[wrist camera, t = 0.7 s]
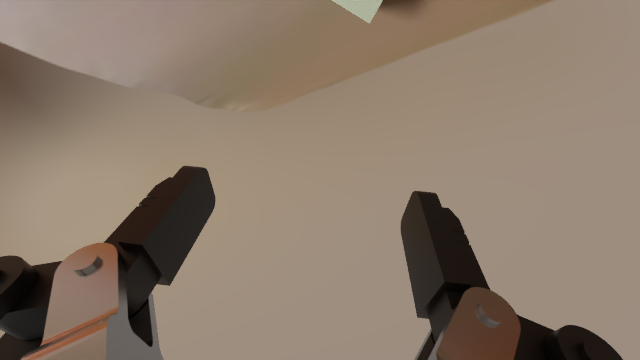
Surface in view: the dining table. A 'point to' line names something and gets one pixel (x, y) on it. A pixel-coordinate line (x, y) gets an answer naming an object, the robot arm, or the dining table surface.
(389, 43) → the dining table surface
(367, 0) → the sage brick
